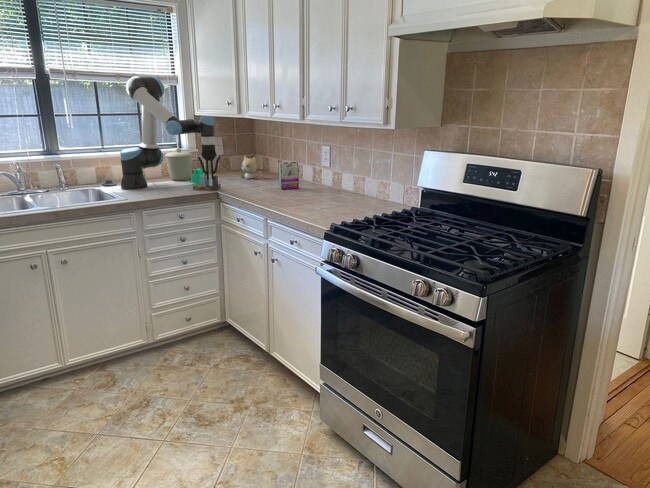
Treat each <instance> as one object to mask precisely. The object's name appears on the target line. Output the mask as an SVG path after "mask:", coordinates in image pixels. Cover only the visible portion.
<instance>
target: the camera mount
mask: <svg viewBox="0 0 650 488" xmlns="http://www.w3.org/2000/svg"><path fill="white" fill-rule="evenodd" d="M200 175H204V173H203V170H202V167H201V168H196V169H194V171H193V173H192V174H191V178H190V179H189V180H190V184H194V186H195V185H197V184H200V181H199V176H200Z"/></svg>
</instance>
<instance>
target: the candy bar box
mask: <svg viewBox="0 0 650 488" xmlns="http://www.w3.org/2000/svg"><path fill="white" fill-rule="evenodd" d="M299 177H300V176H299V162H298V161H297V160H291V161H290V160H289V161H278V178H279V183H278V185H279V190H281V191H284V190H285V191H286V190H287V189H288V190H298V189H300V187H299V183H300V182H299Z"/></svg>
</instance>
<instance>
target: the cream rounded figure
mask: <svg viewBox="0 0 650 488" xmlns="http://www.w3.org/2000/svg"><path fill="white" fill-rule="evenodd" d="M240 167H241V170H240V172H239V175H240V178H241V179H243V178H245V180H249V179H250V180H252V179H255V178H257V177H259V176H261V175H262V171H259V172H258V173H256V174H255V172H257V169H258V163H257V156H254V157H252V158H248V157H247V156H245V155H243V161H242V162H241V166H240ZM242 172H243V173H245V174H244V175H243V174H242Z"/></svg>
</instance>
